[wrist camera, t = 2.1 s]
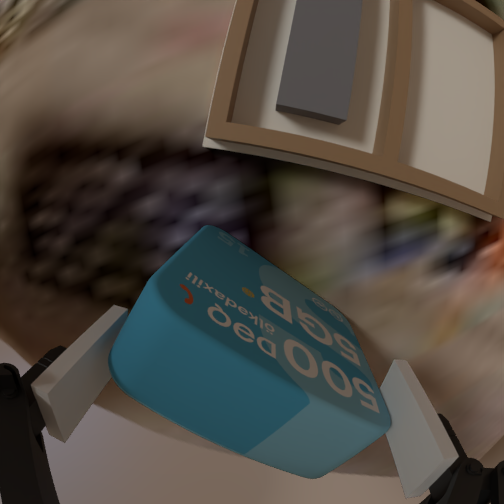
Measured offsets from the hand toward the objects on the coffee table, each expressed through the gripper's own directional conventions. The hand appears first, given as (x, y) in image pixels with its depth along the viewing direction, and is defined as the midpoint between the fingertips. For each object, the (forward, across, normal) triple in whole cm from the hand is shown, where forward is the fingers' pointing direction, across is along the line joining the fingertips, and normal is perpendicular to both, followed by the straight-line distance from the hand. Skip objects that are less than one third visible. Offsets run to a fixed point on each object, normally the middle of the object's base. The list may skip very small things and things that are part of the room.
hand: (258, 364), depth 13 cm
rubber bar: (+7, 0, +18) cm, 20 cm away
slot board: (+8, +5, +18) cm, 21 cm away
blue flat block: (+8, 0, 0) cm, 8 cm away
